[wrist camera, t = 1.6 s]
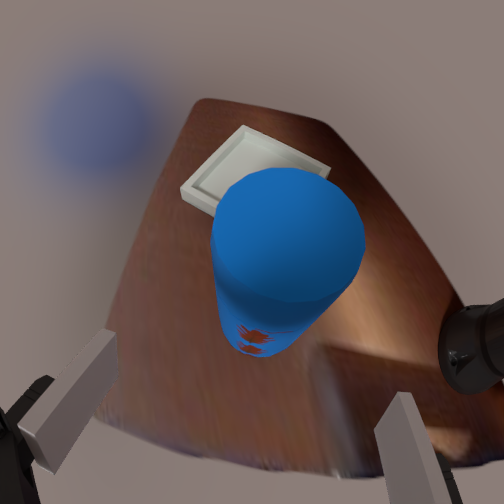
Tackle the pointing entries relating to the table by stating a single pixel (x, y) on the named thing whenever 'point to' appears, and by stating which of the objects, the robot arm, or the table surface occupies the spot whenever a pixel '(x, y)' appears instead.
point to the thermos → (281, 256)
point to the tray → (242, 166)
